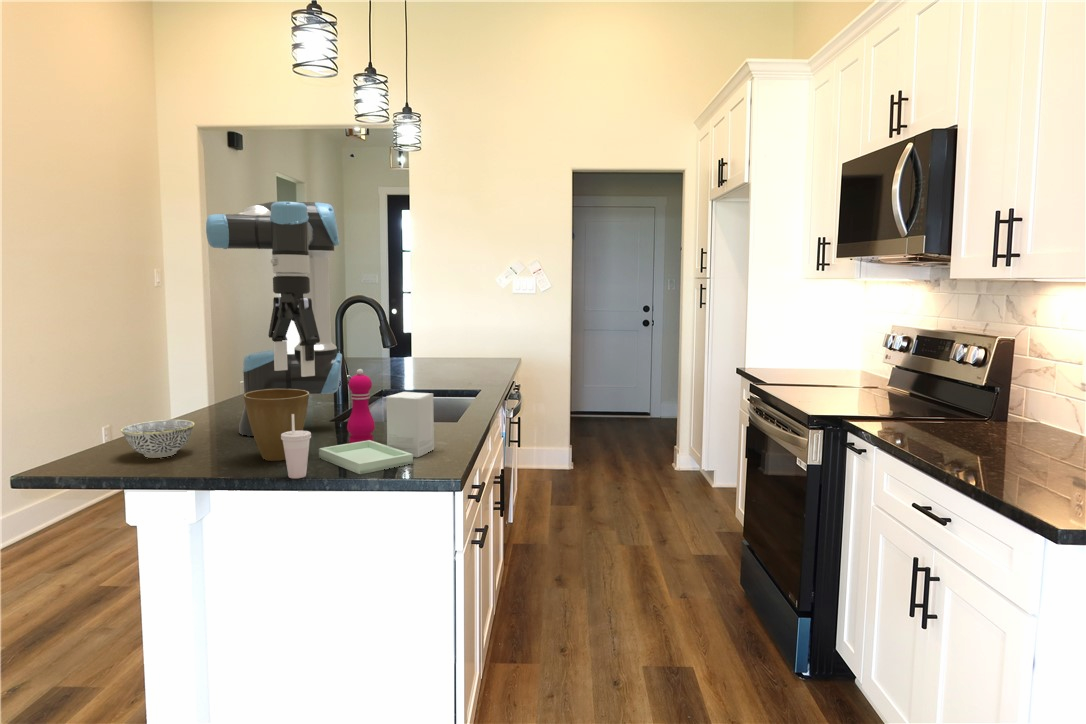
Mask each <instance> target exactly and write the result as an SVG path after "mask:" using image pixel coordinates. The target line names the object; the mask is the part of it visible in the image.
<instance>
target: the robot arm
mask: <svg viewBox="0 0 1086 724" xmlns="http://www.w3.org/2000/svg"><path fill="white" fill-rule="evenodd" d="M205 231H206V232H205V233H206V239H207V242H208V245H209V246H210V247H211V248H215V249H223V250H228V249H238V250H239V249H241V250H242V249H243V250H244V249H245V250H247V249H249V250H250V249H256V250H272V251H271V255H272V256H271V257H272V258H271V259H270V264H272V273H273V274H275V276H273V277H272V292H273V293H274V294H278V295H279V294H280V296H279V297H278V296H274V297H273V299H272V300H273V301H272V303H273V304H272V305H273V307H272V312H271V313H272V314H271V319H270V324H269V329H268V337H269V339H270V338H271V341H272V342H273V349H270V350H263V351H262V350H261V351H258V352H253V353H249V354H246V355H245V357H244V358H243V366H242V368H243V369H242V373H243V391H244V392H243V395H244V394H246V393H248V392H252V391H257V390H266V389H297V390H305V391H308V392H309V395H325V394H328V395H329V394H335V393H337V391H338V390H339V387H340V380H341V373H342V363H343V362H342V361H343V354H342V353H340V352H338V348H337V345H335V344H334V343H333V342H332V329H331V328H332V327H331V325H332V323H331V321H332V320H331V292H330V289H331V287H330V285H331V284H330V257H331V256H332V255H333V254H334V253H335V247H336V246H340V235H339V228H338V223H337V216H336V212H335V209H334V207H333V206H332V205H331V204H330V203H326V202H325V203H323V202H316V201H313V202H309V201H307V202H305V201H303V202H302V201H269V202H263V203H258V204H254V205H251V206H248V207H246V208H245V209H243V211H241V212H238V213H233V214H231V213H229V214H225V213H220V214H219V213H217V214H216V213H215V214H210V215H208V216H207V219H206V223H205ZM292 321H293V323H294V325H295V328H296V331H297V333H298V335H299V342H298V343H297V345H296V346H295V347H294V348H293V349H294V353H292V354H291V353H288V343H287V342H288V337H287V334H288V331H289V328H290V325H291V322H292ZM238 433H240V434H243V435H247V436H246V437H250V436H253V433H252V429H251V426H250V423H249V419H248V415H247V410H246V405H245V404H244V407H243V410H242V414H241V419H240V421H239V423H238ZM240 434H239V435H240ZM243 435H242V436H243Z"/></svg>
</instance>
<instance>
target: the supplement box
mask: <svg viewBox="0 0 1086 724" xmlns="http://www.w3.org/2000/svg"><path fill="white" fill-rule="evenodd" d="M385 403H386V437H387V438H386V446H389V447H393V448H396V449H399V450H402V451H405V452H408V453H411V454H413V458H420V457H422V456H424V455H427V454H429V453H430V451H431V452H433V451H434V450H435V423H434V415H435V413H434V412H435V410H434V393H432V392H431V393H429V392H412V391H402V392H398V393H395V394H390V395H386V396H385ZM432 450H433V451H432ZM428 452H429V453H428Z"/></svg>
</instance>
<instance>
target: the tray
mask: <svg viewBox="0 0 1086 724" xmlns="http://www.w3.org/2000/svg"><path fill="white" fill-rule="evenodd" d="M318 458H319V459H320V458H321V460H323V461H325V462H328V463H331V464H334V465H336V466H337V467H338V466H339V467H341V468H343V469H345V470H348V471H350V472H353V473H355V474H358V475H365V474H369V473H373V472H379V471H385V470H389V468H390V469H394V467H395V468H399V466H400V467H405V466H409V465H408V464H410V465H414V457H413V454H411V453H408V452H405V451H402V450H399V449H396V448H393V447H389V446H387V444H383V443H380V442H377V441H374V440H373V441H371V440H367V441H361V442H355V443H343V444H337V445H331V446H324V447H320V448H318ZM404 465H405V466H404ZM384 469H385V470H384Z"/></svg>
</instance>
